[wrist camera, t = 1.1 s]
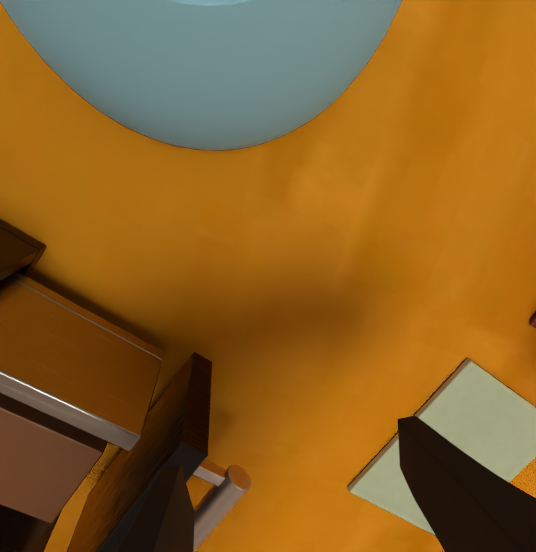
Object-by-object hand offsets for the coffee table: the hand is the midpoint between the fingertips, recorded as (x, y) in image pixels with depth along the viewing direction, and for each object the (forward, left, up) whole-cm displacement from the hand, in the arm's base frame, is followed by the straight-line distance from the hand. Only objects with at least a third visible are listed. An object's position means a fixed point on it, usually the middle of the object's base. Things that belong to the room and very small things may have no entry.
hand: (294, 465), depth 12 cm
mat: (0, -17, -10) cm, 20 cm away
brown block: (-8, +8, -8) cm, 14 cm away
